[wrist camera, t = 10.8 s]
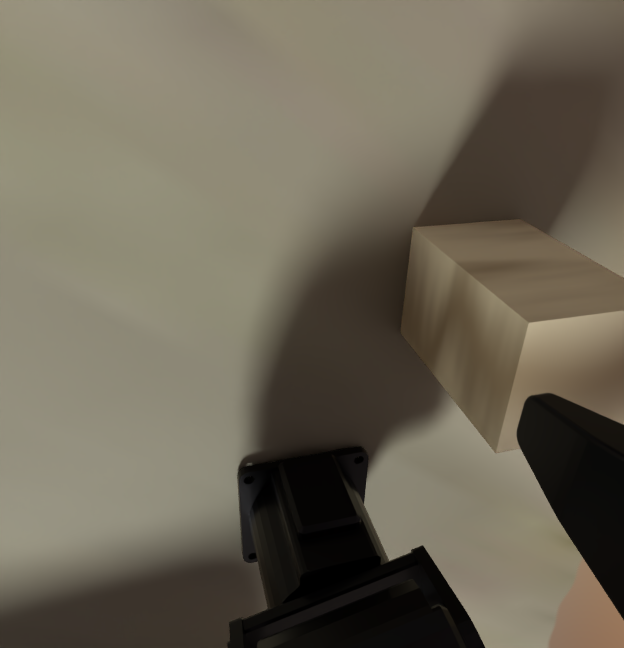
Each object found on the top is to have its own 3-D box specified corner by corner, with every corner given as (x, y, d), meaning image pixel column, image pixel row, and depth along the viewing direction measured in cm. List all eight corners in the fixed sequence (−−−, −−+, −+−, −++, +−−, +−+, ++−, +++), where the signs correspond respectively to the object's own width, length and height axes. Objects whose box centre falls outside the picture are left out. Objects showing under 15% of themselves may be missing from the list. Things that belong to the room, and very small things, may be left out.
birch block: (497, 320, 26) (620, 429, 20) (400, 332, 25) (495, 453, 18) (520, 218, 24) (670, 304, 17) (412, 227, 22) (528, 322, 16)
